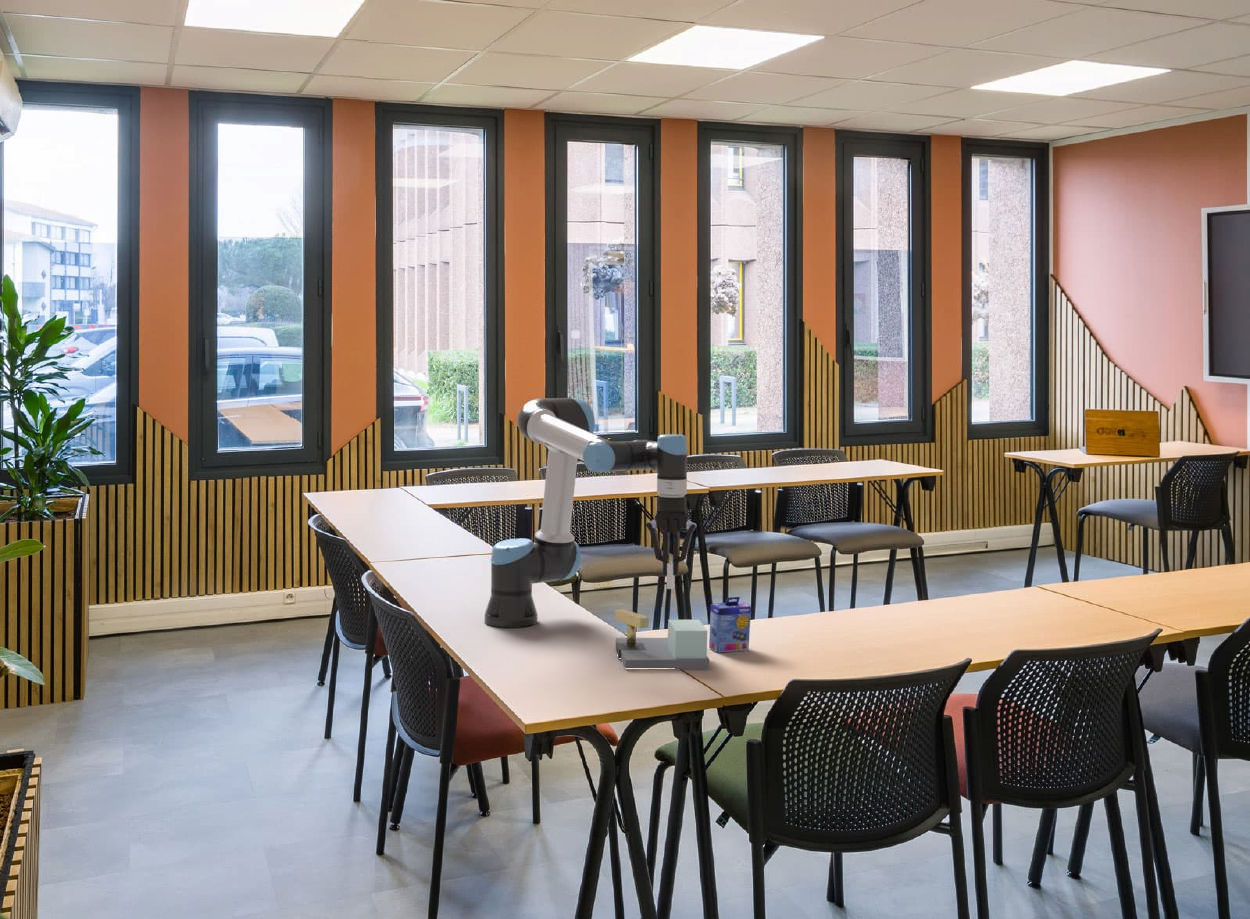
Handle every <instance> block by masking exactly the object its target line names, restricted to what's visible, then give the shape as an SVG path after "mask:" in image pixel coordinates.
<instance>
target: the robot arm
mask: <svg viewBox="0 0 1250 919" xmlns="http://www.w3.org/2000/svg"><path fill="white" fill-rule="evenodd" d="M516 422H517V427H518V430H519V431H520V433H521V434H522V435H523V437H524V438H526V439H528V440H529V441H532V442H534V443H537V444H544V446H545V447H546V448H547V449H548V452H547V460H546V461H547V462H546V470H545V480H544V481H545V482H544V491H543V492H544V493H543V503H542V511H541V512H542V513H541V514H542V515H541V523H540V529H538V531H536V532H535V534H534V539H533V540H534V542H533V541H532V539H529V538H524V537H523V538H521V537H520V538H510V539H504V540H502V541H498V542H497V543H496V544H494V545H493V547H492V549H491V558H490V563H491V567H490V568H491V574H490V575H491V576H490V578H491V581H490V582H491V583H490V587H491V588H490V590H491V591H490V597H489V600H488V603H487V606H486V609H485V612H484V623H485V624H486V625H488V626H493V627H498V628H522V627H521V626H526V627H528V626H527V625H531V626H533V625H532V624H534V623H536V622H537V623H538V616H539V615H538V612H537V608H536V605H535V601H534V599H533V598H534V597H533V591H532V590H533V584H540V583H541V584H542V583H549V582H561V581H563V580H568V579H571V578H572V577H574V576H575V575H576V574H577V573H578V571H579V568H580V566H581V560H582V552H581V551H580V550H581V548H580V546H579V544H578V543H577V542H576V541H575V536H574V535H573V533H572V532H571V526H572V523H571V522H572V515H573V505H574V498H575V497H574V496H575V487H576V478H577V467H578V460H580V461H582V462H583V464H584V466H585V467H586V470H587V471H590V472H592V473H593V472H594V473H611V472H620V471H621V472H623V471H624V472H625V471H627V472H628V471H629V472H630V471H647V470H648V471H657V476H656V493H657V495H658V496H657V497H656V513H655V515H654V519H651V521H648V522H646V524H645V525H646V528H647V530H648V531H649V533H650V539H651V543H652V547H653V551H654V556H655V559H656V560H657V561H660V562H662V574H663V576H666V589H667V590H673V589H674V588H675V585H676V584H675V580H676V578H675V577H676V576H677V577H678V575H679V574H680V571H679V570H680V569H679V568H680V566H679V565H680V562H683V561H685V560H686V559H687V555H688V552H689V548H690V544H691V540H692V536H693V532H694V531H695V530H696V528H697V527H698V526H697V523H695V522H692V521H691V520H690V519H689V516H688V513H687V506H688V505H687V497H686V495H687V492H688V488H687V486H688V483H687V482H688V452H689V451H688V439H687V436H685V435H684V434H670V433H669V434H659V435H658V436H657V441H654V440H648V439H634V440H631V441H630V440H629V441H627V440H626V441H611V440H608V439H605V438H603V437H601V436H599V435H596V434H594V432H595V427H596V420H595V415H594V412H593V410H592V408H591V406H590V404H589V403H588V402H587V401H585V400H584V399H581V398H574V397H559V398H558V397H557V398H556V397H555V398H553V397H552V398H551V397H549V398H543V397H542V398H536V399H535V398H534V399H532V400H530V401H527V402H526V403H525V404H524V405H523V406H522V407H521V408H520V410H519V412H518V416H517V421H516ZM657 525H658V527H659V528H660V530H661V531H662V538H663V539H662V549H661V545H660V544H661V543H660V540H659V535H658V532H657ZM685 525H686V527H685ZM684 527H685V528H686V530H687V531H686V533H685V537H684V542H683V545H682V549H681V553H680V535H681V534H680V533H681V531H682V529H683V528H684ZM671 533H672V561H670V534H671ZM537 623H536V624H537ZM534 625H535V624H534Z"/></svg>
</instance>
